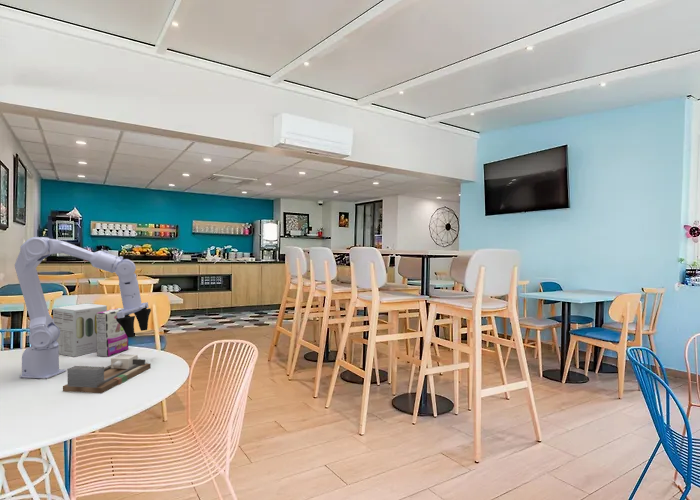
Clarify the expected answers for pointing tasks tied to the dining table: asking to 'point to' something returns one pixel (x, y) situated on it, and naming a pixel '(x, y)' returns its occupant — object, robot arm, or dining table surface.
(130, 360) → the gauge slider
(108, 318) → the candy bar box
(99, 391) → the base
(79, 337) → the supplement box
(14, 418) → the dining table surface
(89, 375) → the dark grey block
